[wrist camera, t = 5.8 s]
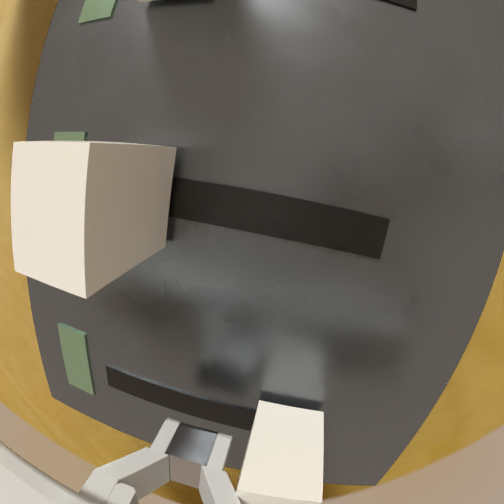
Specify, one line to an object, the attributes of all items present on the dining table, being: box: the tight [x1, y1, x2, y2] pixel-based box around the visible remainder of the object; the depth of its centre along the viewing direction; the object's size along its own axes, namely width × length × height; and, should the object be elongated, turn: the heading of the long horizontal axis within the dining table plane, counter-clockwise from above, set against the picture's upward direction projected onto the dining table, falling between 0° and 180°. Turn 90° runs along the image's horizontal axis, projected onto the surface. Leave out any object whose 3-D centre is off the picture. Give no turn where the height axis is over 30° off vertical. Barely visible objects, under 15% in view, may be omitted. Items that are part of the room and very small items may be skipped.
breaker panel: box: [26, 0, 504, 486], centre depth 10 cm, size 18×24×3 cm
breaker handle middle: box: [11, 141, 177, 299], centre depth 7 cm, size 2×3×4 cm
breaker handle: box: [235, 400, 324, 504], centre depth 9 cm, size 2×3×4 cm
